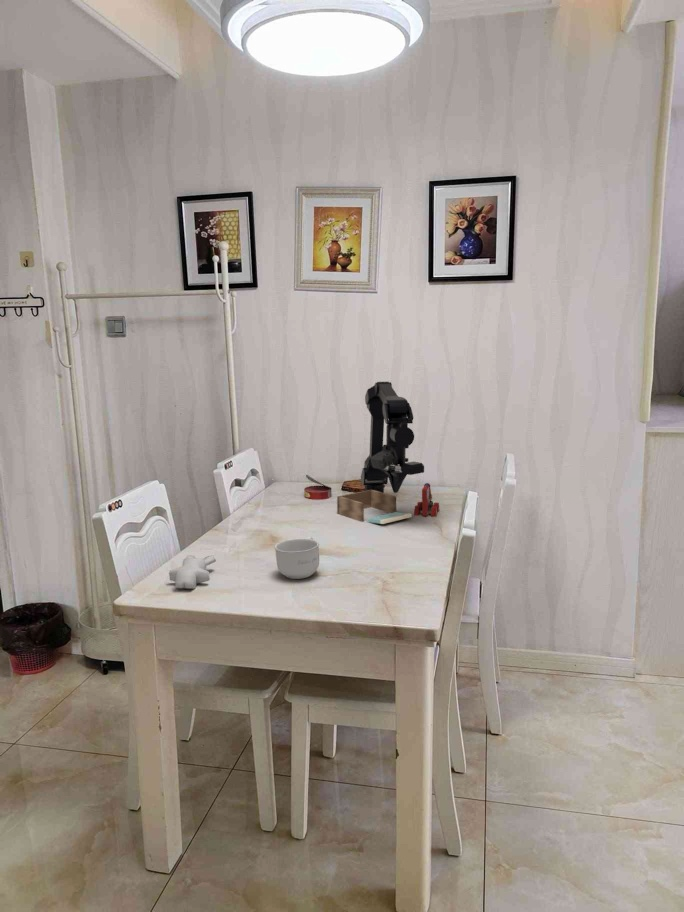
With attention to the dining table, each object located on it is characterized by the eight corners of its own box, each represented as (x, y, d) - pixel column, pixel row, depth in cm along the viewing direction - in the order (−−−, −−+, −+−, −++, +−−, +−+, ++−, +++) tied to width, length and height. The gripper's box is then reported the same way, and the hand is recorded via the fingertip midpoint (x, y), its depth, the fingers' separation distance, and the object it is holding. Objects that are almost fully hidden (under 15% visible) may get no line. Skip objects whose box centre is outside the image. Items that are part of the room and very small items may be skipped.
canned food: (307, 506, 249) (306, 480, 252) (334, 504, 247) (333, 478, 250) (300, 499, 238) (299, 472, 241) (328, 497, 236) (327, 469, 239)
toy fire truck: (440, 512, 223) (440, 481, 221) (435, 522, 211) (435, 489, 209) (419, 510, 225) (419, 480, 223) (413, 520, 213) (413, 488, 211)
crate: (337, 517, 217) (337, 496, 215) (371, 510, 225) (371, 489, 224) (361, 525, 207) (361, 503, 206) (396, 517, 216) (396, 496, 215)
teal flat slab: (367, 518, 207) (382, 520, 201) (395, 512, 214) (411, 513, 209) (367, 521, 207) (382, 523, 201) (396, 515, 214) (411, 516, 209)
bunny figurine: (162, 575, 156) (182, 547, 170) (164, 595, 157) (183, 566, 171) (202, 576, 155) (219, 548, 169) (204, 596, 156) (220, 566, 171)
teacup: (302, 586, 159) (302, 553, 158) (266, 577, 165) (265, 546, 163) (334, 568, 171) (334, 537, 169) (299, 561, 176) (299, 531, 175)
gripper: (355, 440, 203) (355, 491, 206) (397, 448, 189) (397, 502, 192) (382, 436, 210) (382, 485, 213) (425, 444, 196) (425, 496, 199)
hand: (395, 492), depth 204 cm, fingers closed
